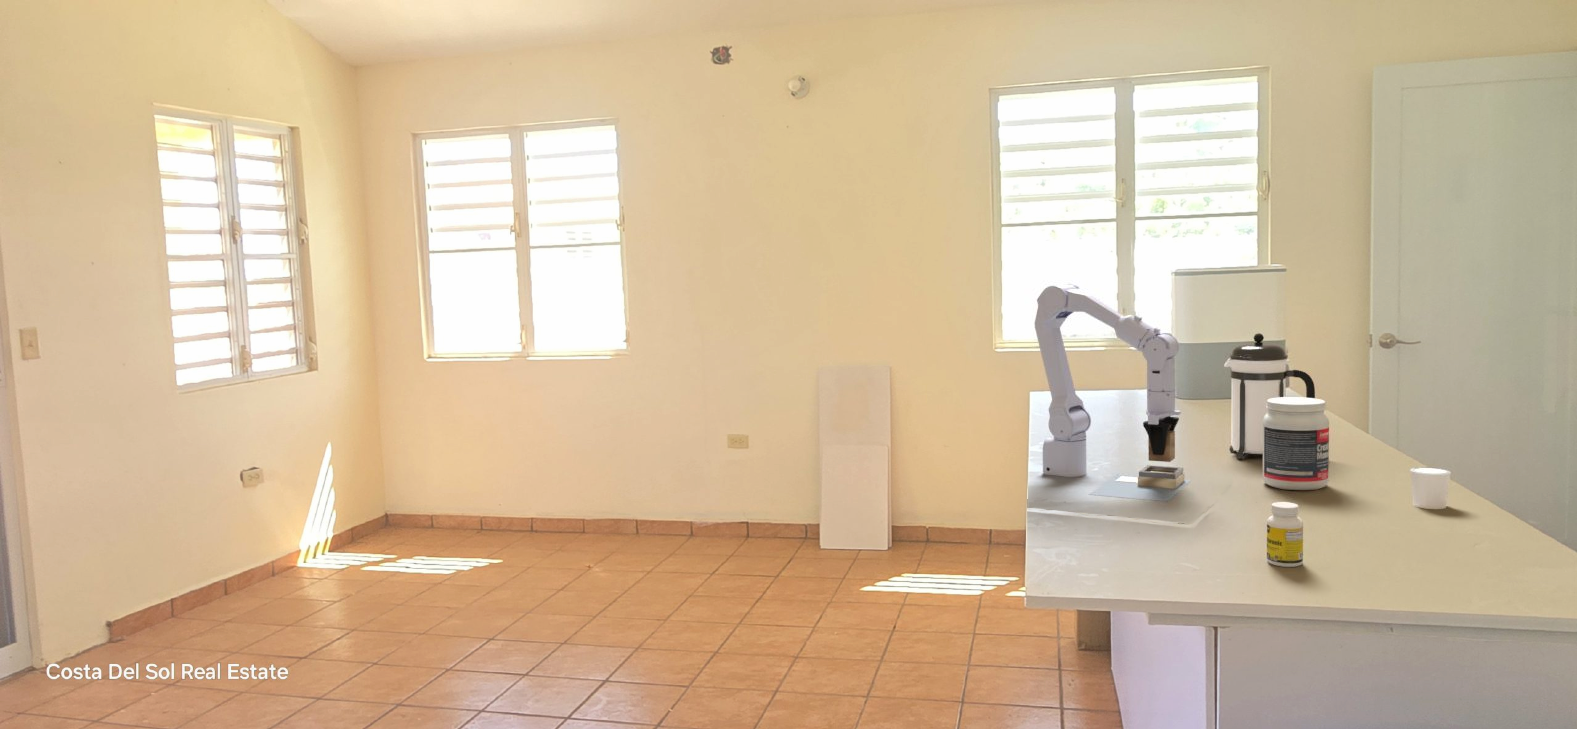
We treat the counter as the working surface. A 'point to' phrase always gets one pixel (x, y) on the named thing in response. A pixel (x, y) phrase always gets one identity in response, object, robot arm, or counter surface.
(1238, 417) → the coffee press
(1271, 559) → the supplement bottle
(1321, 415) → the supplement tub
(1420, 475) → the white cup
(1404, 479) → the counter surface
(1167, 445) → the walnut block
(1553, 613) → the counter surface
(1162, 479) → the board
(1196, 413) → the counter surface
